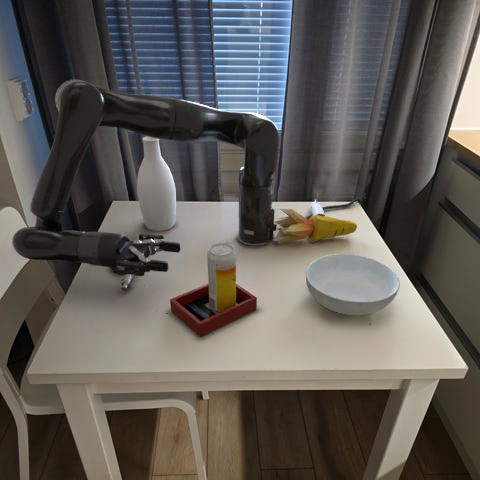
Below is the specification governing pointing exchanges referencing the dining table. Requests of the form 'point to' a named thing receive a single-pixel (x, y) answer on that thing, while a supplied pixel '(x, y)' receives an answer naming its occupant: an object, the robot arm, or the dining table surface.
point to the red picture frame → (204, 319)
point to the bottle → (156, 188)
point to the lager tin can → (221, 276)
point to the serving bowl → (351, 283)
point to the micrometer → (126, 279)
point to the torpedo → (317, 208)
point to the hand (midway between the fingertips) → (173, 256)
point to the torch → (310, 227)
